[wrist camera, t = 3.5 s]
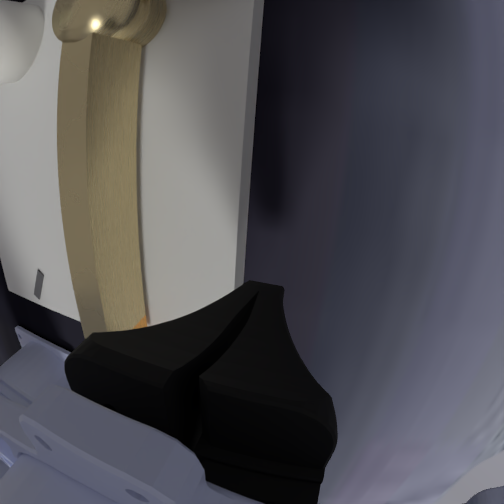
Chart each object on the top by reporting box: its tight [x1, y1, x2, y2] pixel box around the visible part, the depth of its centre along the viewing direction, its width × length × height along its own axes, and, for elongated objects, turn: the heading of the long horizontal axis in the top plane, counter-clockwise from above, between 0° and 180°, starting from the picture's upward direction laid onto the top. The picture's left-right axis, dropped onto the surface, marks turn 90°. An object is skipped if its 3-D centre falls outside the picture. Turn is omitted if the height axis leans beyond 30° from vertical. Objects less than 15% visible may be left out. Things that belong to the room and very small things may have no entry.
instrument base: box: [0, 0, 264, 327], centre depth 12 cm, size 20×18×6 cm
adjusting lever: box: [52, 0, 167, 339], centre depth 11 cm, size 17×3×3 cm, turn 176°
